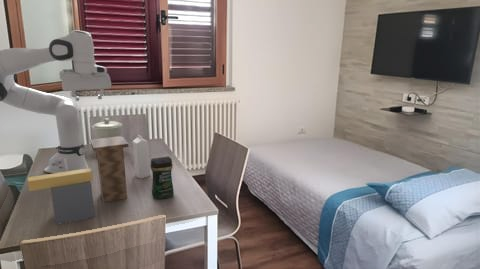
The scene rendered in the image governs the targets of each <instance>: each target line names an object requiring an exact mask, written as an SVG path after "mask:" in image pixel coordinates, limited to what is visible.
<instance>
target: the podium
mask: <svg viewBox="0 0 480 269" xmlns="http://www.w3.org/2000/svg"><path fill="white" fill-rule="evenodd" d="M91 182H92V181H88V182H82V183H76V184H70V185H64V186H58V187H52V188H50V192H51V193H50V194H51V200H52V206H53V213H54V214H53V215H54V220H55V221H54V222H55V225H56V224H58V225H60V224H59V223H63V224H66V222H68V223H71V222H70V221H73V222H76V221H75V220H77V221H81V219H82V220H86V218H87V219H91V217H92V218H95V217H96V216H95V215H96V214H95V204H94V196H93V188H92V183H91Z"/></svg>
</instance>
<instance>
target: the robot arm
mask: <svg viewBox="0 0 480 269" xmlns="http://www.w3.org/2000/svg"><path fill="white" fill-rule="evenodd" d="M93 41H94V40H93V37H92V34H91V33H90V32H88V31H84V30H77V29H74V30H71V31H70V32H69V33H67V34H66V35H64V36H61V37H59V38H55V39H53V40H51V41H50V43H49V46H48V47H45V48H30V47H29V48H28V47H12V48H6V49H5V48H4V49H2V50H0V102H2V103H4V104H7V105H9V106H12V107H15V108H18V109H20V110H25V111H29V112H32V113H37V114H43V115H48V116H49V115H51V116H55V120H56V127H57V133H58V139H59V140H58V141H59V142H58V143H59V145H58V146H56V147H55V149H56V150H57V152H56V153H55V154H54V155H52V157H50V158H49V159H48V165H47V166H46V167H45V168H44V172H45V173H49V174H54V173H60V172H67V171H74V170H80V169H87V168H89V165H88V163H87V160H86V157H85V146H84V143H83V137H82V130H81V129H82V128H81V119H80V110H79V107H78V104H77V102H79V101H80V97H79V96H78V95H76V91H91V90H92V91H93V90H99V91H100V92H99V94H98V95H97V99H98V100H102V99H103V97H102V96H103V94H104V92H105V91H104V90H109V89H111V88H112V80H111V76H110V75H109V73H108V68H107V67H105V66H102V65H100V64H99V65H98V64H96V59H95V56H94V55H95V47H94V42H93ZM56 61H60V62H68V61H73V68H72V69H71V68H70V69H69V68H68V69H63V70H61V71H60V72H59V79H60V80H61V87H62V88H61V89H62V91H64V92H71V94H72V95H73V97H74V98H75V100H74V99H73V98H70V97H66V96H61V95H58V94H53V93H48V92H44V91H40V90H37V89H34V88H30V87H27V86H23V85H19V84H18V83H17V82H15V80H17V74H21V73H22V72H27V71H29V70H30V69H34V68H36V67H39V66H40V65H43V64H47V63H50V62H51V63H52V62H56ZM76 101H77V102H76Z"/></svg>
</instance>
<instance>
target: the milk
mask: <svg viewBox="0 0 480 269" xmlns="http://www.w3.org/2000/svg"><path fill="white" fill-rule="evenodd" d="M132 148H133V150H132V151H133V162H134V163H133V164H134V174H135V177H137V178H138V179H143V178H147V177H150V176H151V164H150V155H149V154H150V152H149V141H147V140H146V139H144V138H143V136H142V135H140V134H137V137H136V138H135V139H134V140H132Z"/></svg>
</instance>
